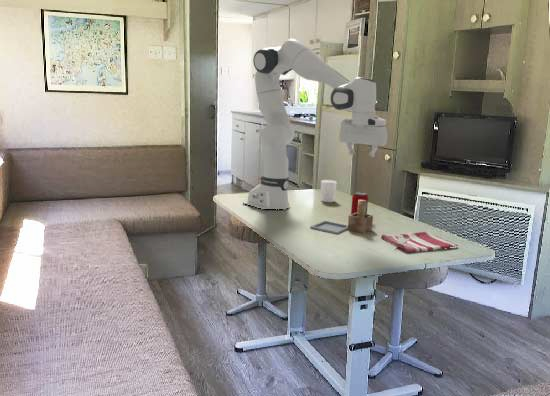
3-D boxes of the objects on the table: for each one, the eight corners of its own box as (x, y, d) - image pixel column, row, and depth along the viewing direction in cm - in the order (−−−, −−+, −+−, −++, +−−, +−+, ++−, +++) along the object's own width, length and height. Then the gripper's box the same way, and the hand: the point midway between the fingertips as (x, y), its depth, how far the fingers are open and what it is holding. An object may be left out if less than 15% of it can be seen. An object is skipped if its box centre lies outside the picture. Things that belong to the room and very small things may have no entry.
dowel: (354, 229, 202) (356, 200, 199) (357, 228, 205) (360, 199, 202) (361, 231, 200) (364, 201, 198) (365, 229, 203) (367, 200, 200)
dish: (310, 229, 201) (310, 226, 201) (324, 223, 211) (324, 220, 211) (337, 235, 195) (337, 232, 195) (350, 229, 205) (350, 226, 205)
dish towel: (379, 240, 193) (379, 234, 193) (429, 236, 202) (429, 230, 201) (405, 254, 178) (406, 247, 177) (458, 250, 187) (459, 243, 186)
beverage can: (365, 222, 216) (368, 195, 214) (350, 221, 217) (352, 193, 215) (366, 218, 223) (368, 192, 220) (350, 217, 224) (353, 190, 221)
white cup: (321, 198, 259) (322, 179, 257) (336, 200, 257) (338, 180, 255) (318, 201, 252) (319, 181, 250) (333, 203, 250) (335, 183, 248)
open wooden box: (347, 231, 202) (348, 215, 200) (355, 227, 208) (356, 212, 206) (364, 235, 198) (365, 218, 196) (371, 231, 204) (373, 215, 202)
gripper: (336, 118, 200) (335, 153, 203) (381, 121, 187) (379, 158, 190) (346, 118, 205) (344, 152, 208) (390, 121, 191) (388, 157, 194)
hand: (361, 155), depth 199 cm, fingers open, 8 cm apart
